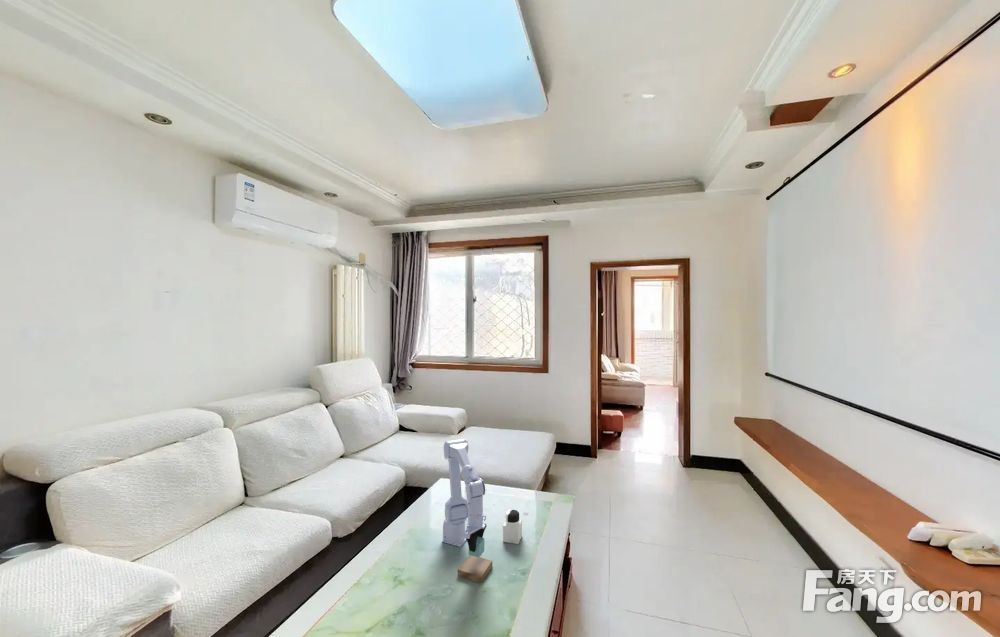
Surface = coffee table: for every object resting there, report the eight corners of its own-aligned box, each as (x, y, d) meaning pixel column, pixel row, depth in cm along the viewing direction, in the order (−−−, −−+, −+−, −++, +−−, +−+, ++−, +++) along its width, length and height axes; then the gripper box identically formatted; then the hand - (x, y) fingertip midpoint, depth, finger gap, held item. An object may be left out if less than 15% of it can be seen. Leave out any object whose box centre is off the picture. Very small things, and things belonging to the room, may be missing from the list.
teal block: (468, 554, 147) (468, 541, 147) (474, 548, 151) (474, 535, 151) (479, 557, 145) (479, 544, 145) (484, 551, 149) (484, 538, 149)
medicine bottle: (522, 535, 172) (522, 509, 172) (518, 544, 165) (518, 517, 165) (506, 533, 174) (506, 506, 174) (502, 542, 167) (502, 514, 167)
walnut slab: (457, 577, 146) (457, 569, 146) (470, 561, 155) (470, 554, 155) (481, 584, 142) (481, 576, 141) (492, 568, 151) (492, 560, 151)
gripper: (475, 523, 140) (476, 560, 140) (492, 505, 153) (492, 539, 153) (459, 519, 143) (459, 555, 143) (476, 502, 156) (477, 535, 156)
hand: (475, 547), depth 148 cm, fingers closed on teal block, 4 cm apart
